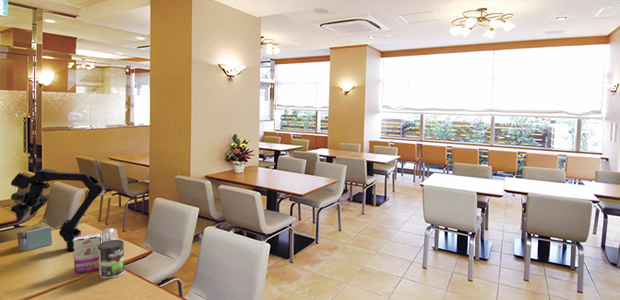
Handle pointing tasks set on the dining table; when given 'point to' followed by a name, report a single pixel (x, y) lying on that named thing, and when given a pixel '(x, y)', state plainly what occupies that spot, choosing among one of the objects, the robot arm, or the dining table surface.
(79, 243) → the candy bar box
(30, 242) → the hinge leaf
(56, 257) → the dining table surface
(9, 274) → the dining table surface
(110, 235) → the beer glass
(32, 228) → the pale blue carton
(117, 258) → the coffee can
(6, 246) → the dining table surface
